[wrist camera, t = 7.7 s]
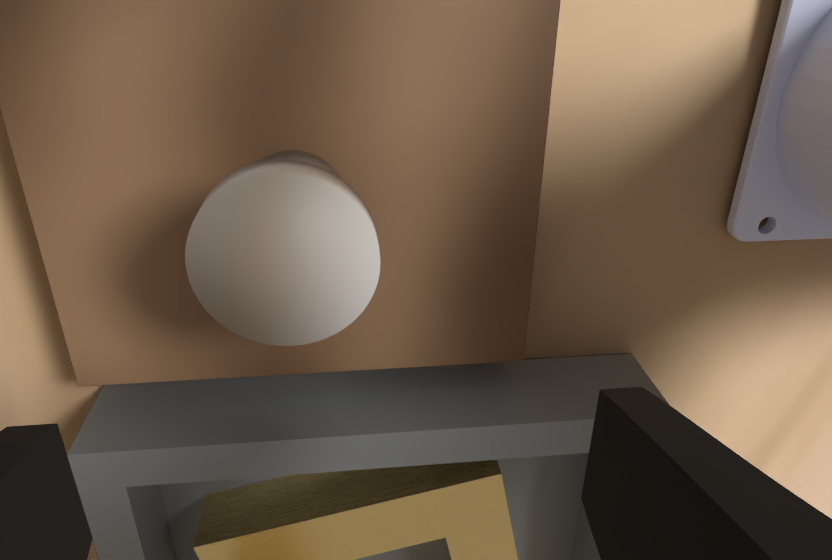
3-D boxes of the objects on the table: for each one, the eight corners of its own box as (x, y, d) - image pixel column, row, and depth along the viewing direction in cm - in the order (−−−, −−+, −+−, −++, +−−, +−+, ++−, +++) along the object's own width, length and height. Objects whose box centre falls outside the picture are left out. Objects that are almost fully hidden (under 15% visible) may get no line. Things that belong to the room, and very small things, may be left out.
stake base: (543, -34, 15) (633, -28, 10) (510, 332, 19) (563, 447, 15) (-5, -39, 14) (-172, -35, 9) (96, 354, 18) (18, 487, 14)
